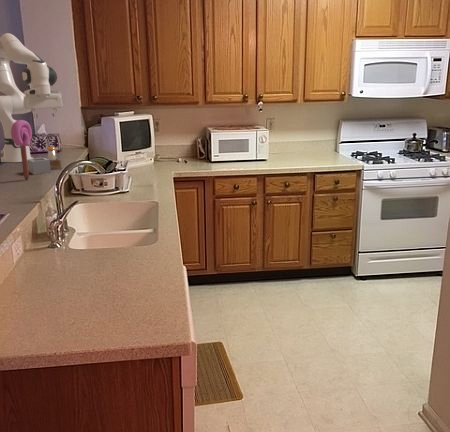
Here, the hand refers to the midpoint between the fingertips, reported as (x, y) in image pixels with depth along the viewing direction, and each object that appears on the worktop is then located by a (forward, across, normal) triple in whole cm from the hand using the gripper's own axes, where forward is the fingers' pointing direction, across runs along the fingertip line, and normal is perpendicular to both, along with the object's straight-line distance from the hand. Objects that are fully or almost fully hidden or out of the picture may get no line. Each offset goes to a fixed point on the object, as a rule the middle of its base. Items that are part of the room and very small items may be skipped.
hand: (44, 117), depth 270 cm
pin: (+29, -2, -1) cm, 29 cm away
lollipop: (+30, +18, +21) cm, 41 cm away
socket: (+29, +7, +5) cm, 30 cm away
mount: (+29, -2, -1) cm, 29 cm away
